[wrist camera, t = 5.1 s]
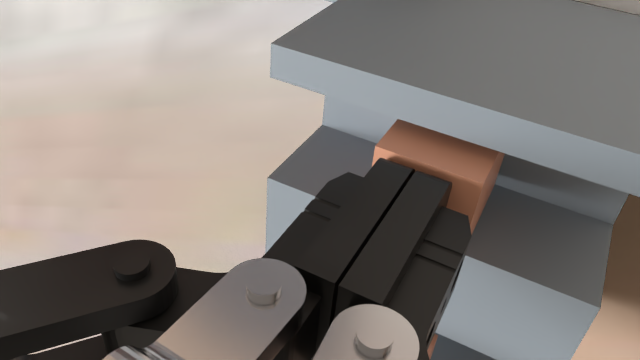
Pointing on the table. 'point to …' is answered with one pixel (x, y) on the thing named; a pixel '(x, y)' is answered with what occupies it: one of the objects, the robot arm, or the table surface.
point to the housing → (485, 145)
